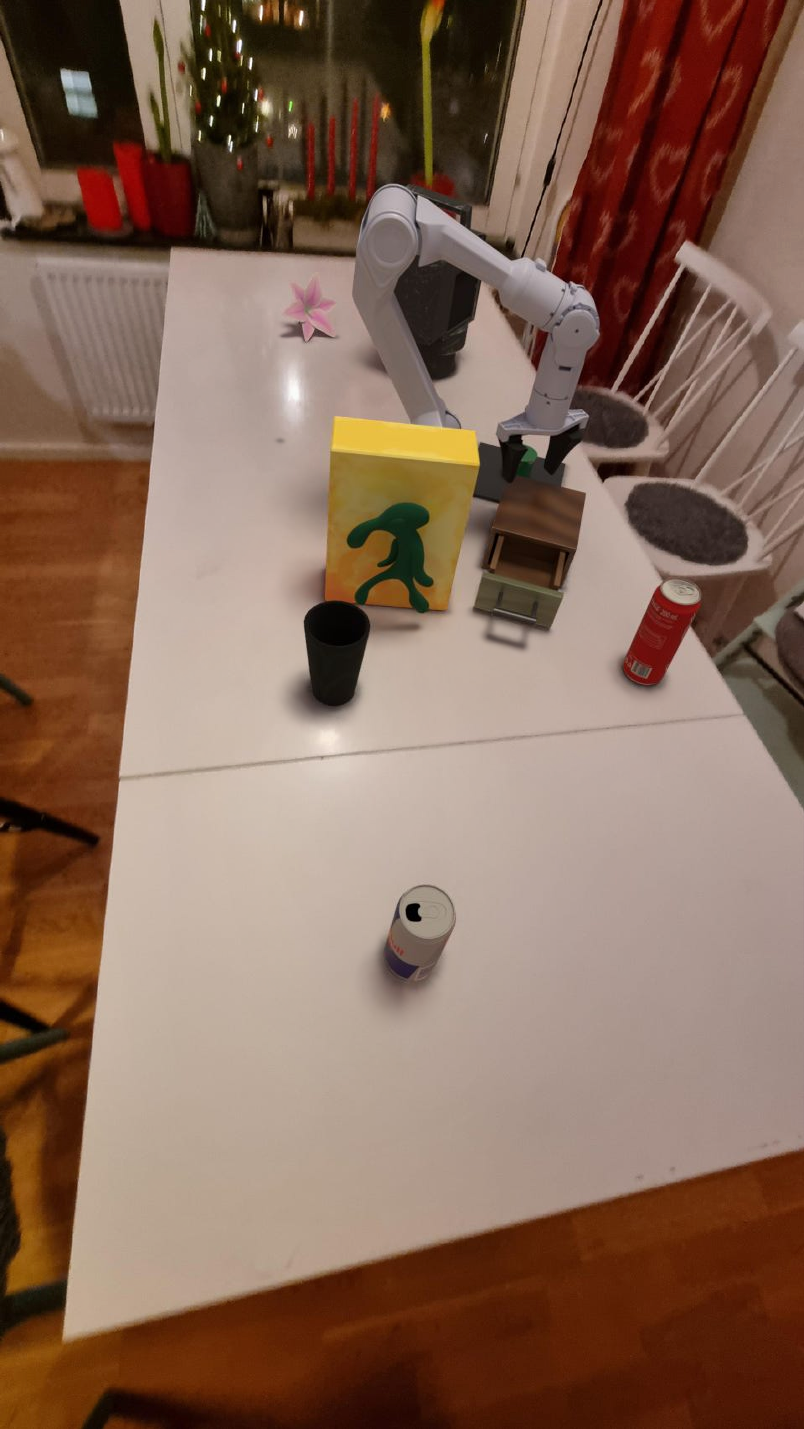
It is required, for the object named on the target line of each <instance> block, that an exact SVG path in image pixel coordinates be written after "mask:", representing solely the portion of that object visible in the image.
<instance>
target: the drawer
mask: <svg viewBox="0 0 804 1429" xmlns="http://www.w3.org/2000/svg"><path fill="white" fill-rule="evenodd" d="M565 554H566V551H563V550H559V549H556V548H552V547H548V546H544V545H540V544H537V543H533V542H529V541H525V540H521V539H518V538H514V537H510V536H506V535H502V534H499V537H498V541H497V544H496V548H495V551H494V555H493V558H492V562H491V565H490V569H488V571H483V572H482V575H481V578H480V583H479V586H478V590H477V594H476V596H475V600H474V604H473V607H474V608H476V609H480V610H484V611H487V612H491V617H493V618H496V619H500V620H504V621H508V622H511V623H516V624H519V625H522V626H526V627H529V628H535V627H536V625H540V626H543V627H547V628H552V626H553V623H554V621H555V618H556V616H557V614H558V611H559V609H560V606H561V603H562V601H563V599H564V592H563V591H559V589H560V588H559V586H560V581H561V576H562V570H563V565H564V559H565Z"/></svg>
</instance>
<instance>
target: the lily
mask: <svg viewBox="0 0 804 1429" xmlns="http://www.w3.org/2000/svg"><path fill="white" fill-rule="evenodd" d="M288 285H289V288H290V291H291V293H292V295H293V298H294V300H293V302H291V303H290V304H289V305H288V306H287V307H286V308H285V309H284V310H283V311H282V316H283V317H285V318H287V319H290V320H293V321H297V322H298V324H301V327H302V333H303V337H304V341H305V342H308V341H309V340H310V338H311V337H312V336H313V333H314V332H315V329H317V330H318V331H321V332H322V333H324V334H326V335H328V336H330V337H332V338H336V331H335V327H334V325H333V322H332V319H331V317H330V315H329V313H330V312H331V311H332V310H333V309H334V308H335V307H336V306H337V302H336V301H335V300H333V299H330V298H327V297H324V290H323V283H322V279H321V275H320V273H319V271H315V272H314V273H313V275H312V276H311V278H310V279H309V281H308V282H307V284H306V285H305V288H304V287H302V286H301V285H299V284H297V283H296V282H293V281H291V280H288Z"/></svg>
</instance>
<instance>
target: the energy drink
mask: <svg viewBox="0 0 804 1429" xmlns="http://www.w3.org/2000/svg"><path fill="white" fill-rule="evenodd" d="M456 922H457V912H456V908H455V903H454V901H453V899H452V898H451V896H450V895H449V894H448V893H447V892H446V891H445V890H444V889H442V888H441V887H439V886H437V885H435V884H430V883H422V884H421V883H420V884H417V885H414V886H412V887H410V888H409V889H407V890H406V891H405V892H404V893H402V895H401V896H400V898H399V899H398V902H397V904H396V907H395V911H394V913H393V917H392V920H391V924H390V928H389V931H388V935H387V938H386V942H385V945H384V950H383V958H384V959H383V960H384V963H385V965H386V968H387V969H388V971H389V972H390V973H391V974H392V975H393V976H394V977H395V978H396V979H399V980H401V981H404V982H406V983H415V982H416V983H417V982H420V981H422V980H425V979H427V978H428V977H429V976H430V975H431V974H432V973H433V971H434V970H435V968H436V966H437V964H438V961H439V960H440V958H441V956H442V954H443V951H444V949H445V947H446V946H447V943H448V942H449V939H450V938H451V935H452V933H453V931H454V928H455V927H456Z"/></svg>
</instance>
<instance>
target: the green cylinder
mask: <svg viewBox="0 0 804 1429" xmlns="http://www.w3.org/2000/svg"><path fill="white" fill-rule="evenodd" d="M524 445H525V446H526V448H527V449H528V451H527V452H526V453H525V455H524V456H523V458H522V460H521V462H520V464H519V466H518V469H517V473H516V475H518V476H522V477H526V478H530V475H531V472H532V469H533V465H534V462H535V460H536V459H537V457H539V456H538V452H537V450H536V449H535V448H533V447H532V446H531V445H527V444H524Z"/></svg>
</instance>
